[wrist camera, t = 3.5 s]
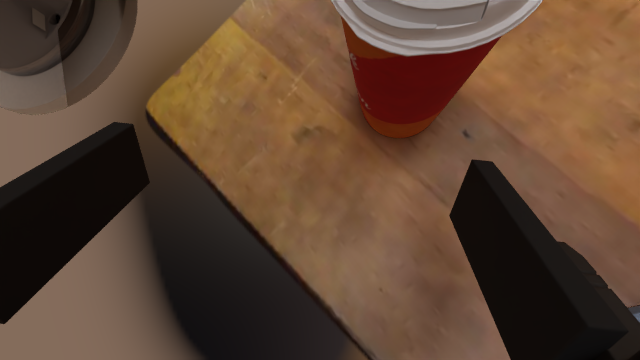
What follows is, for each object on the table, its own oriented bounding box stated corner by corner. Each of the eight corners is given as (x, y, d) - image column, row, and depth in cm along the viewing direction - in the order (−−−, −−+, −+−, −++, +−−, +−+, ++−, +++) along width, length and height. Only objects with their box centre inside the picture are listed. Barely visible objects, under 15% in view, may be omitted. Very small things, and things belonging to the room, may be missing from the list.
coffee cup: (381, 39, 25) (398, -223, 11) (473, 83, 23) (648, -160, 9) (327, 122, 25) (267, -32, 10) (417, 173, 23) (500, 77, 8)
